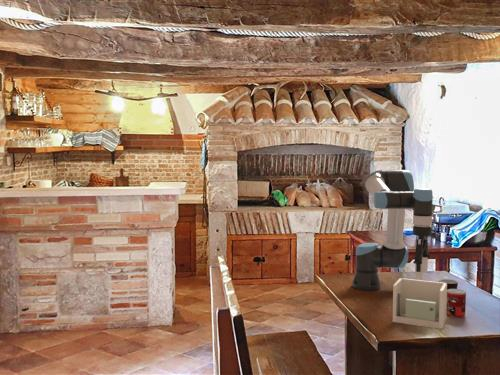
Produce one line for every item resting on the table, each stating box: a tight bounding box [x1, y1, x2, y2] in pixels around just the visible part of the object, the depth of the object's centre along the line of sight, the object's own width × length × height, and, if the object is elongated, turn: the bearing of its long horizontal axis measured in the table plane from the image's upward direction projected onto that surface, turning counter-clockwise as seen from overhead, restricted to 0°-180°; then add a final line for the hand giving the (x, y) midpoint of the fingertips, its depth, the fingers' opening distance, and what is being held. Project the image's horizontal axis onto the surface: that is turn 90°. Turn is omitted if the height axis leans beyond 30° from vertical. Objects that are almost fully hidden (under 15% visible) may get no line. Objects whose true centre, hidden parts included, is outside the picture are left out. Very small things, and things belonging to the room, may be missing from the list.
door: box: [405, 299, 436, 321], centre depth 221 cm, size 12×3×10 cm, turn 63°
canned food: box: [446, 288, 467, 319], centre depth 233 cm, size 8×8×11 cm
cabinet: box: [392, 277, 447, 330], centre depth 225 cm, size 20×14×16 cm
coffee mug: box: [438, 278, 459, 290], centre depth 255 cm, size 12×9×10 cm
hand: (421, 275), depth 220 cm, fingers open, 13 cm apart
